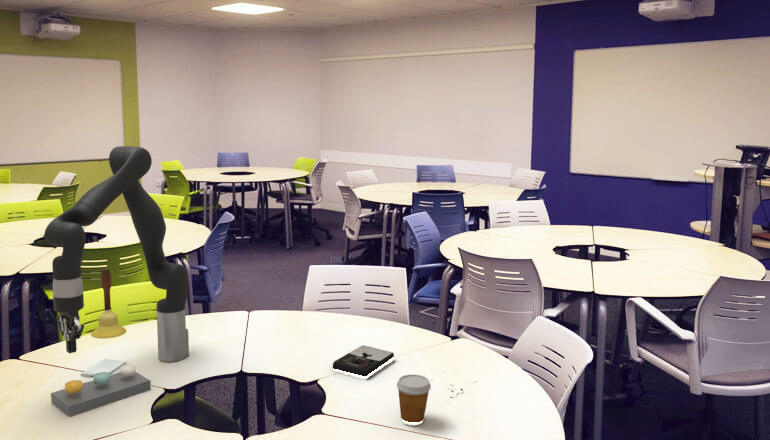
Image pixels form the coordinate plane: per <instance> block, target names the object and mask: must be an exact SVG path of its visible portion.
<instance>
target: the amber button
mask: <svg viewBox="0 0 770 440" xmlns="http://www.w3.org/2000/svg"><path fill="white" fill-rule="evenodd" d="M82 384H83V381H82V380H79V379H74V380H69V381H67V382H65V384H64V389H65V392H66V393H77V392H80V391H81V390H82Z"/></svg>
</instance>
